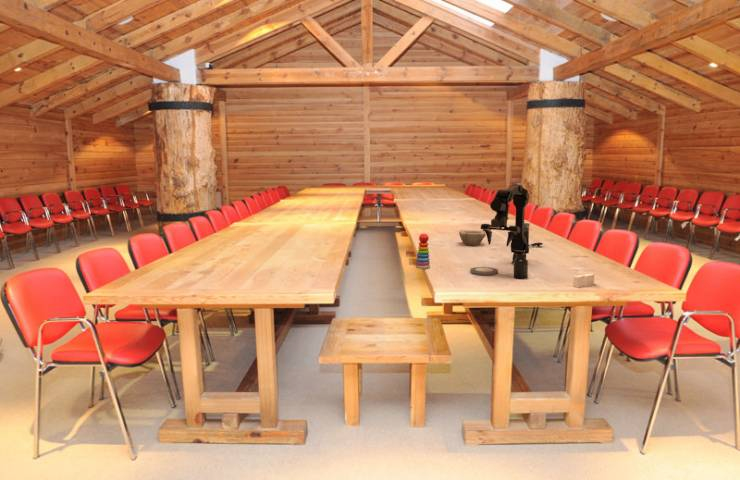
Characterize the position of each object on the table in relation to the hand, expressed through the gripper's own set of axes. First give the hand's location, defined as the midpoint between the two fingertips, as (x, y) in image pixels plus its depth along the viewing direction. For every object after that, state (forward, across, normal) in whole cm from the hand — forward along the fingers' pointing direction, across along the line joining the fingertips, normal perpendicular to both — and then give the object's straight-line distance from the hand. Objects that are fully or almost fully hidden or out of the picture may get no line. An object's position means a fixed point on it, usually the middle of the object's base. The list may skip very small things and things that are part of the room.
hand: (498, 245), depth 272 cm
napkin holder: (+15, +40, +5) cm, 44 cm away
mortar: (-5, -46, +77) cm, 90 cm away
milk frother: (-9, -13, +90) cm, 91 cm away
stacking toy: (+16, -40, 0) cm, 43 cm away
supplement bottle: (+14, +11, +6) cm, 19 cm away
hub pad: (+14, -8, +6) cm, 17 cm away
